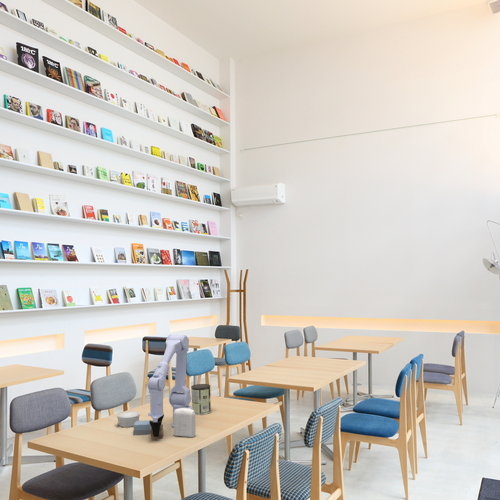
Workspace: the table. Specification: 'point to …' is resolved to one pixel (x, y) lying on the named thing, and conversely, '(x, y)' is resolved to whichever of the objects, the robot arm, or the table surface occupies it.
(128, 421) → the ramekin
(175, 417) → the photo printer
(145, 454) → the table surface
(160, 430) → the walnut cube
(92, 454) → the table surface
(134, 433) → the tower base
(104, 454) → the table surface
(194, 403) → the coffee can
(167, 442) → the table surface
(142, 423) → the tower top
